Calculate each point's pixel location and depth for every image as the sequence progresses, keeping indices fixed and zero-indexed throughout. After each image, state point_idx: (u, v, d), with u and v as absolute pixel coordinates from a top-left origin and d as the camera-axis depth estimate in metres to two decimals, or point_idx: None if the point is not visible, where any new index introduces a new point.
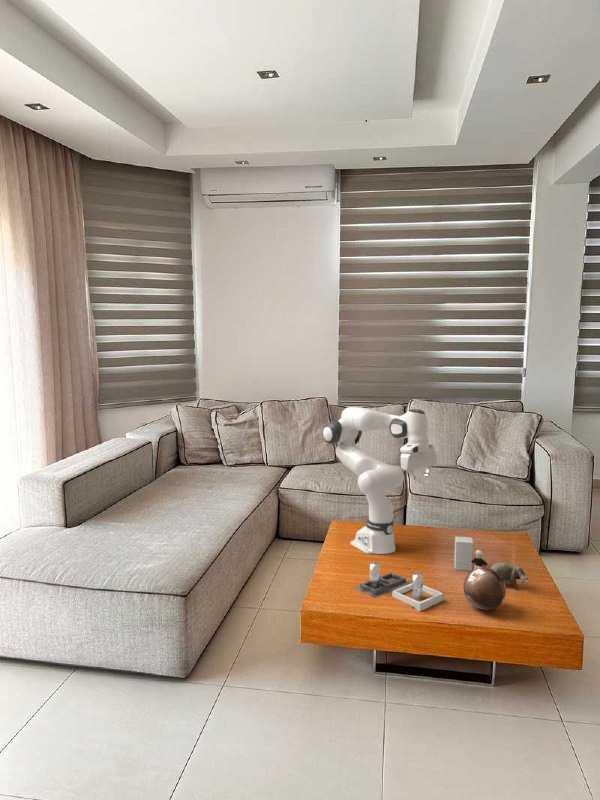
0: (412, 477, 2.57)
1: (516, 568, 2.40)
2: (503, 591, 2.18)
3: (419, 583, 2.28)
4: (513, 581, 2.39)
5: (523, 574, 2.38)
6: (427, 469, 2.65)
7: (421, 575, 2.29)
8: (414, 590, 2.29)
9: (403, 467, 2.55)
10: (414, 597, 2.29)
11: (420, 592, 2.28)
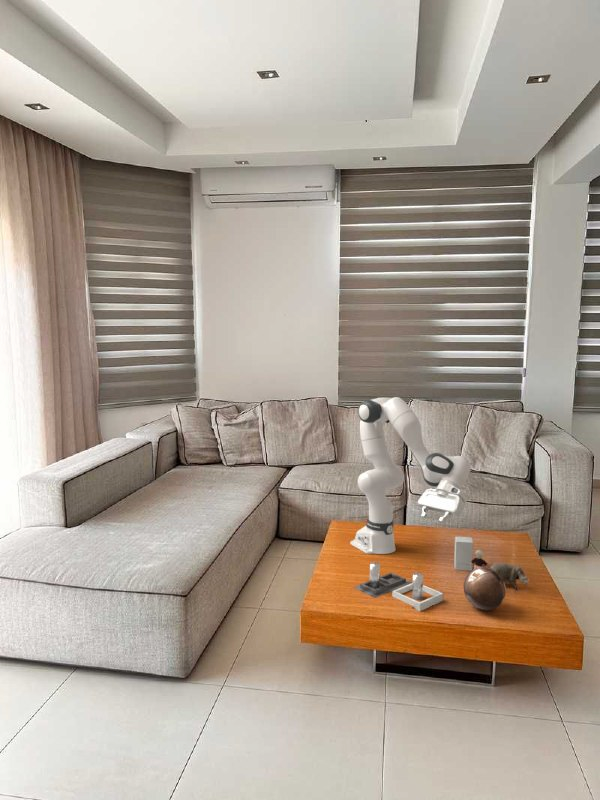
0: (444, 520, 2.38)
1: (515, 568, 2.40)
2: (503, 591, 2.18)
3: (419, 583, 2.28)
4: (512, 581, 2.39)
5: (522, 574, 2.38)
6: (424, 510, 2.47)
7: (421, 575, 2.29)
8: (414, 590, 2.29)
9: (458, 511, 2.36)
10: (414, 597, 2.29)
11: (420, 592, 2.28)
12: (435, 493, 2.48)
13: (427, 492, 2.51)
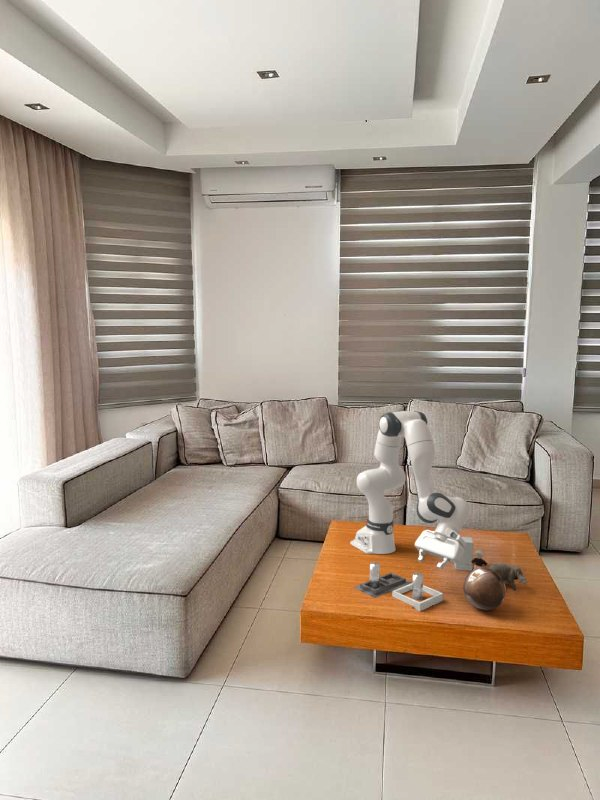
0: (442, 566, 2.29)
1: (514, 568, 2.40)
2: (503, 591, 2.18)
3: (419, 583, 2.28)
4: (511, 581, 2.39)
5: (521, 574, 2.37)
6: (421, 554, 2.38)
7: (421, 575, 2.29)
8: (414, 590, 2.29)
9: (457, 558, 2.27)
10: (414, 597, 2.29)
11: (420, 592, 2.28)
12: (433, 536, 2.39)
13: (424, 534, 2.42)
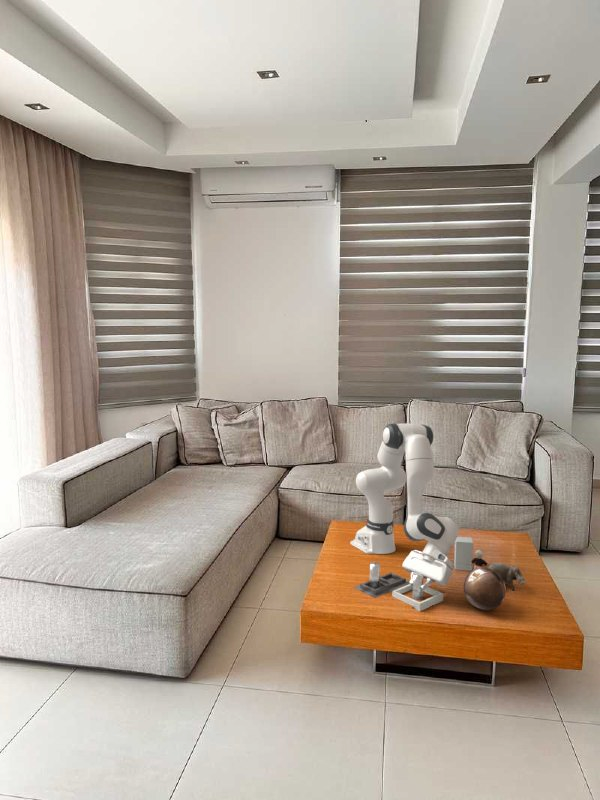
0: (425, 587, 2.28)
1: (513, 569, 2.40)
2: (503, 591, 2.18)
3: (419, 583, 2.28)
4: (509, 581, 2.39)
5: (519, 575, 2.37)
6: None
7: (421, 575, 2.29)
8: (414, 590, 2.29)
9: (445, 581, 2.24)
10: (414, 597, 2.29)
11: (420, 592, 2.28)
12: (421, 557, 2.35)
13: (412, 555, 2.38)
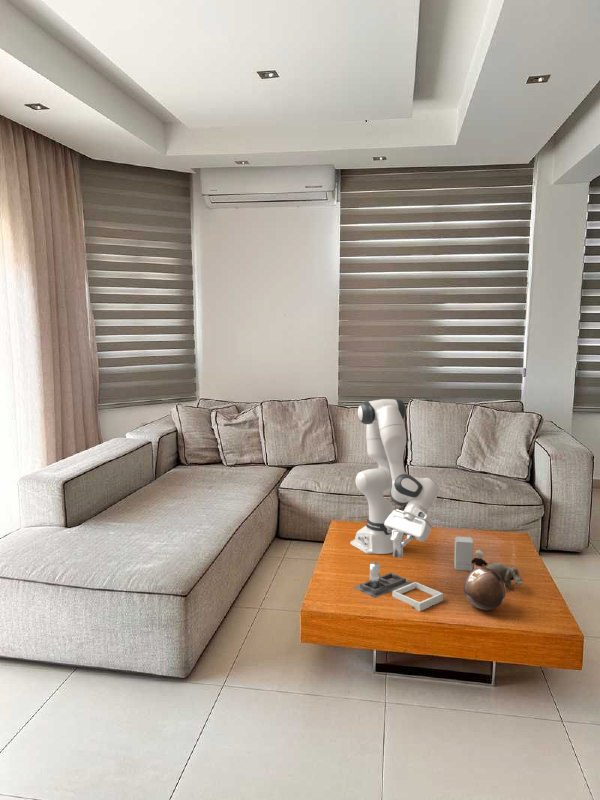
0: (405, 543, 2.37)
1: (511, 569, 2.39)
2: (503, 591, 2.18)
3: (399, 539, 2.37)
4: (507, 581, 2.38)
5: (517, 575, 2.37)
6: None
7: (402, 532, 2.38)
8: (395, 546, 2.38)
9: (424, 536, 2.33)
10: (395, 553, 2.39)
11: (400, 548, 2.38)
12: (402, 515, 2.45)
13: (394, 514, 2.48)
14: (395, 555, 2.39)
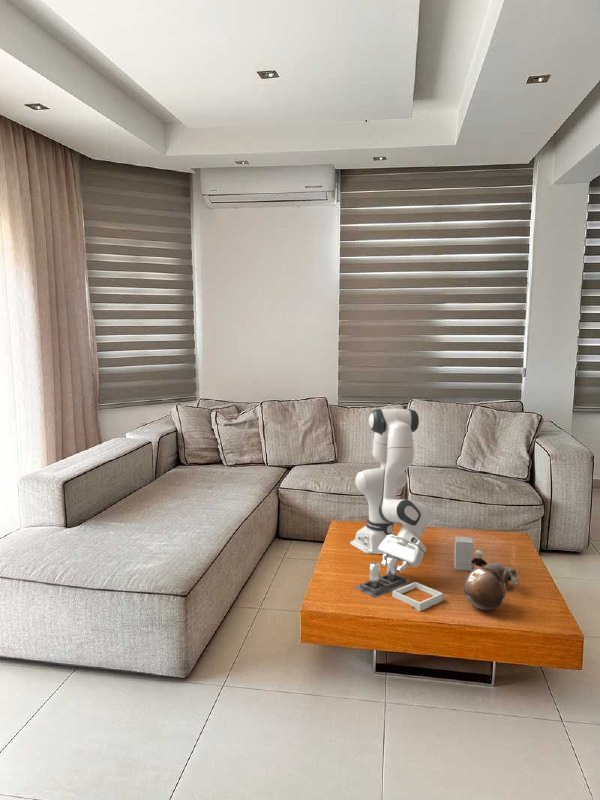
0: (401, 569, 2.40)
1: (508, 569, 2.39)
2: (503, 591, 2.18)
3: (393, 566, 2.42)
4: (504, 581, 2.38)
5: (514, 576, 2.36)
6: (385, 558, 2.48)
7: (395, 558, 2.43)
8: (388, 572, 2.43)
9: (416, 562, 2.38)
10: (388, 579, 2.43)
11: (394, 574, 2.43)
12: (395, 540, 2.49)
13: (387, 539, 2.52)
14: None
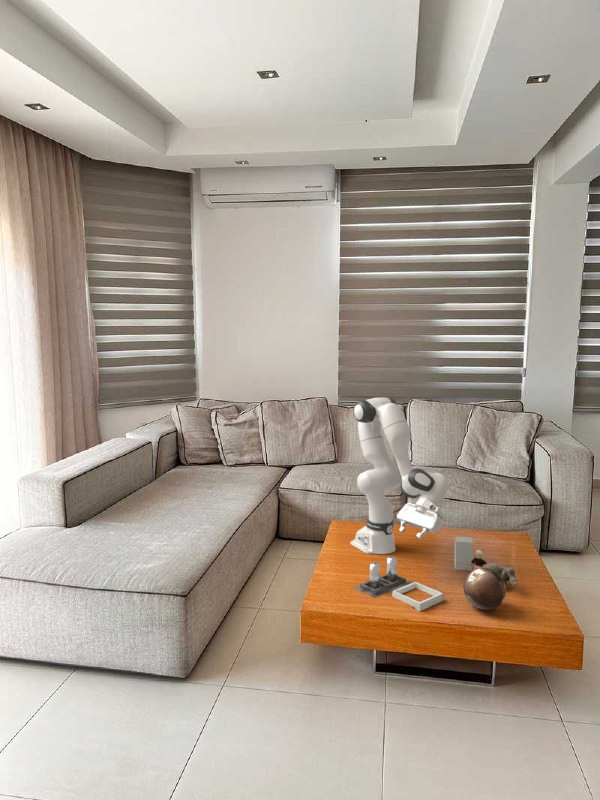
0: (421, 536, 2.46)
1: (507, 569, 2.39)
2: (503, 591, 2.18)
3: (393, 566, 2.42)
4: None
5: (512, 576, 2.36)
6: (403, 525, 2.55)
7: (395, 558, 2.43)
8: (388, 572, 2.43)
9: (435, 528, 2.44)
10: (388, 579, 2.43)
11: (394, 574, 2.42)
12: (414, 508, 2.55)
13: (406, 507, 2.58)
14: None
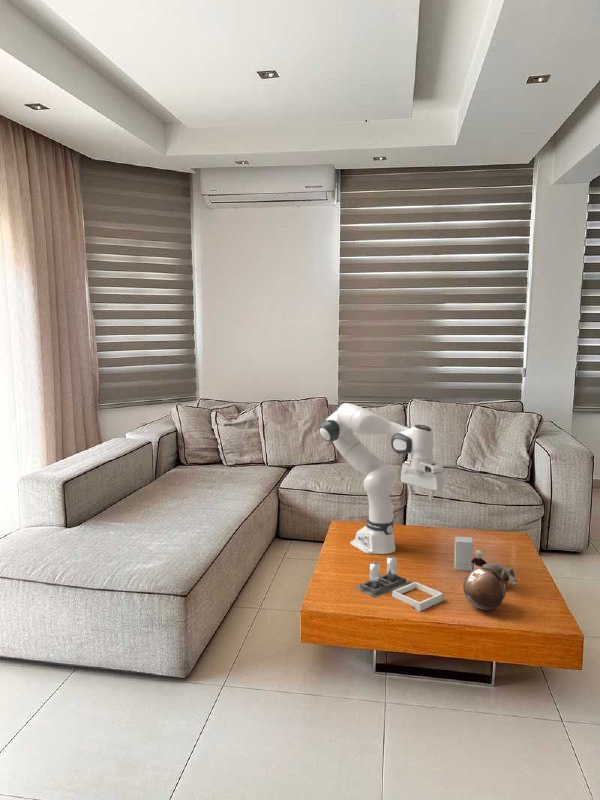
0: (432, 497, 2.44)
1: (506, 569, 2.39)
2: (503, 591, 2.18)
3: (393, 566, 2.42)
4: None
5: (512, 576, 2.36)
6: (410, 487, 2.52)
7: (395, 558, 2.43)
8: (388, 572, 2.43)
9: (440, 487, 2.40)
10: (388, 579, 2.43)
11: (394, 574, 2.42)
12: (412, 470, 2.49)
13: (404, 469, 2.52)
14: None
